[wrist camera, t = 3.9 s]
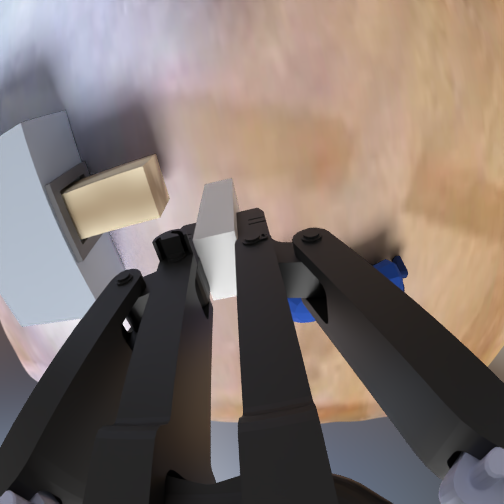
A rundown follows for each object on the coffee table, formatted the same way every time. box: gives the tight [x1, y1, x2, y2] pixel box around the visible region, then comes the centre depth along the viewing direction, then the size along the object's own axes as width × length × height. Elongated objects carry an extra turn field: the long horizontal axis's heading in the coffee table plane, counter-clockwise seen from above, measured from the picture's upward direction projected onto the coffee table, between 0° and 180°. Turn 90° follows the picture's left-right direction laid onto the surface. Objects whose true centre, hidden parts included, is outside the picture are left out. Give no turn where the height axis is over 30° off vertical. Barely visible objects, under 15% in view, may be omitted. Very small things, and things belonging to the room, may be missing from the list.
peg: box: [60, 154, 170, 240], centre depth 24 cm, size 4×16×4 cm, turn 102°
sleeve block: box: [0, 110, 125, 327], centre depth 24 cm, size 18×13×8 cm
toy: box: [287, 256, 408, 323], centre depth 32 cm, size 7×6×15 cm
